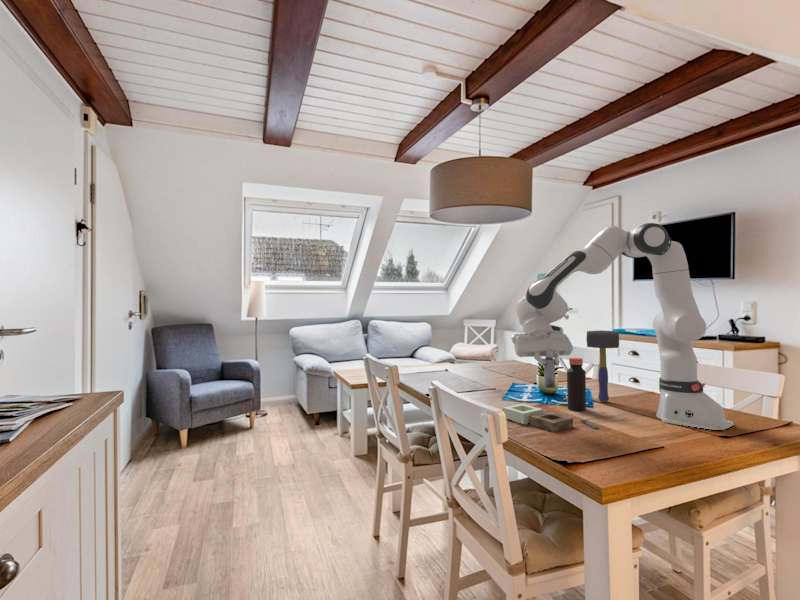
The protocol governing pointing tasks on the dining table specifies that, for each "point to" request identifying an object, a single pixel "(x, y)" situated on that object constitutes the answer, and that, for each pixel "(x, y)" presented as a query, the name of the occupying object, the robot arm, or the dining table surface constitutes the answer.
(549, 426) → the socket block
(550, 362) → the drill bit
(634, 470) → the dining table surface
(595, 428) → the drift key
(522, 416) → the rack block
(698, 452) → the dining table surface
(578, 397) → the bottle
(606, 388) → the rubber mallet
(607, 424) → the dining table surface
